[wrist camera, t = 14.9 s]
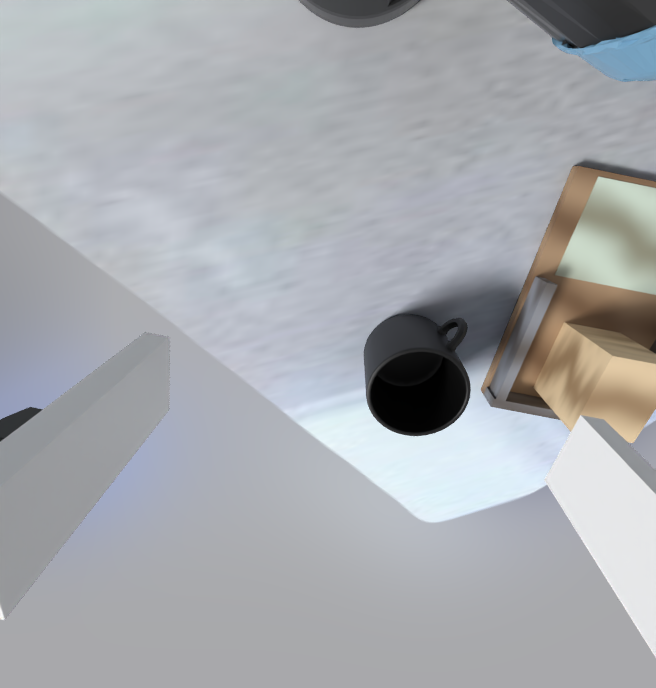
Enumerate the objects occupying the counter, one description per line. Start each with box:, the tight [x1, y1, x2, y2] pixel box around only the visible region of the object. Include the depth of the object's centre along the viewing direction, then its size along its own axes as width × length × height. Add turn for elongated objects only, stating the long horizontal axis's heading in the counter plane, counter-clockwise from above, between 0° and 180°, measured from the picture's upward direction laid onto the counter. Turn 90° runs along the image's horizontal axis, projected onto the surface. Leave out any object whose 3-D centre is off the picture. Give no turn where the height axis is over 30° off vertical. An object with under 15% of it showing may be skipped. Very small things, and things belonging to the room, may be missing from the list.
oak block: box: [533, 322, 656, 443], centre depth 37 cm, size 8×6×8 cm
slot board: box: [481, 166, 656, 420], centre depth 38 cm, size 24×16×4 cm, turn 170°
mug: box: [364, 315, 470, 436], centre depth 38 cm, size 9×12×9 cm
